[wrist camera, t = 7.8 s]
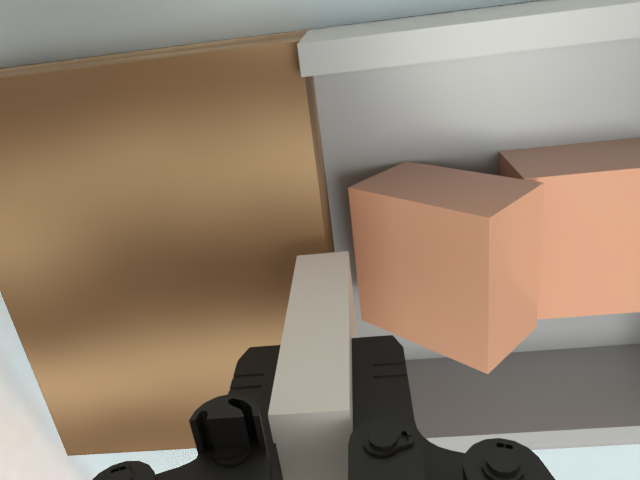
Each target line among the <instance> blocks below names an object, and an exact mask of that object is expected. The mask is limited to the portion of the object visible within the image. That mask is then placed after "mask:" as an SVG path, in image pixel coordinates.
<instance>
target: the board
mask: <svg viewBox="0 0 640 480" xmlns="http://www.w3.org/2000/svg"><path fill="white" fill-rule="evenodd" d="M307 32H308V30H301V31H293V32H285V33H277V34H269V35H261V36H253V37H245V38H237V39H229V40H221V41H214V42H206V43H198V44H190V45H182V46H174V47H166V48H158V49H150V50H142V51H134V52H126V53H118V54H110V55H102V56H94V57H87V58H79V59H71V60H63V61H55V62H47V63H39V64H31V65H23V66H15V67H7V68H0V292H1V294H2V297H3V299H4V302H5V304H6V306H7V309H8V311H9V314H10V316H11V319H12V321H13V323H14V326H15V328H16V331H17V333H18V336H19V338H20V340H21V343H22V345H23V348H24V350H25V353H26V355H27V358H28V360H29V362H30V365H31V367H32V370H33V372H34V375H35V377H36V379H37V382H38V384H39V387H40V389H41V392H42V394H43V397H44V399H45V401H46V404H47V406H48V409H49V411H50V414H51V416H52V418H53V421H54V423H55V426H56V428H57V431H58V433H59V435H60V438H61V440H62V443H63V445H64V448H65V450H66V453H67V455H68V456H70V455H87V454H104V453H121V452H138V451H155V450H172V449H189V448H196V444H195V441H194V437H193V433H192V430H191V426H190V423H189V419H190V418H191V416H192V415H193V413H194V411H195V410H196V409H198V408H199V407H200V406H201V405H202V404H204V403H205V402H207V401H209V400H211V399H213V398H216V397H218V396H223V395H228V392H229V391H230V385H231V382H232V378H234V376H233V375H234V372H235V368H236V365H237V361H238V360H239V359H240V357H241V356H242V355H243V354H244V353H245V352H246V351H247V350H248V348H249V347H259V346H272V345H281V340H282V335H283V329H284V324H285V318H286V313H287V307H288V302H289V296H290V291H291V285H292V280H293V275H294V269H295V264H296V258H297V256H299V255H310V254H321V253H333V252H335V248H334V240H333V232H332V224H331V215H330V207H329V199H328V191H327V183H326V174H325V166H324V158H323V150H322V141H321V133H320V125H319V117H318V109H317V100H316V92H315V84H314V76H307V77H301V71H300V64H299V56H298V48H297V44H298V43H299V41H300V40H301V39H302V38H303V36H304V35H305V34H306V33H307Z"/></svg>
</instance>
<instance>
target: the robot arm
mask: <svg viewBox="0 0 640 480" xmlns="http://www.w3.org/2000/svg"><path fill="white" fill-rule="evenodd" d="M233 376H234V378H232V382H231V385H230V391H229V392H228V395H223V396H218V397H216V398H213V399H211V400H209V401H207V402H205V403H204V404H202V405H201V406H200V407H199V408H198V409H196V410H195V411H194V413H193V415H192V416H191V418H190V419H189V423H190V426H191V430H192V433H193V437H194V441H195V444H196V448H197V451H198V456H197V458H196V459H195V460H193V461H192V462H190V463H188V464H185V465H183V466H180V467H178V468H175V469H171V470H168V471H165V472H162V473H159V474H156V475H155V472H154V471H153V470H152V468H151V467H150V466H149V465H148V464H145V463H143V462H140V461H125V462H122V463H119V464H116V465H112V466H111V467H109V468H107V469H105V470H104V471H102V472H100V473H99V474H98V475H97V476H96V477H95V478H94V479H93V480H555V479H554V477H553V476H552V475H551V473H550V472H549V471H548V469H547V468H546V467H545V465H544V464H543V463H542V461H541V460H540V458H539V457H538V456H537V455H536V454H535V453H533V452H532V451H531V450H530V449H529V448H528V447H526V446H524V445H522V444H520V443H518V442H516V441H513V440H508V439H502V438H493V439H484V440H482V441H480V442H477V443H475V444H473V445H472V446H471V447H470V448H469V449H468V451H467V452H466V453H462V452H457V451H452V450H448V449H445V448H441V447H439V446H437V445H435V444H433V443H431V442H429V441H428V440H427V439H426V438H425V437H423V436H422V434H421V433H420V432H419V430H418V429H417V426H416V423H415V419H414V413H413V406H412V400H411V394H410V387H409V381H408V375H407V368H406V361H405V355H404V349H403V346H402V345H401V344H400V343H399V342H398V341H397V339H396V338H395V337H394V336H393V335H386V336H373V337H360V338H357V324H356V315H355V306H354V297H353V287H352V278H351V269H350V260H349V251H344V252H333V253H321V254H310V255H299V256H297V258H296V264H295V269H294V275H293V280H292V285H291V291H290V296H289V302H288V307H287V313H286V318H285V324H284V329H283V335H282V340H281V345H272V346H259V347H249V348H248V350H247V351H246V352H245V353H244V354H243V355H242V356H241V357H240V359H239V360H238V361H237V365H236V368H235V372H234V375H233Z"/></svg>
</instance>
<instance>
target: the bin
mask: <svg viewBox="0 0 640 480" xmlns="http://www.w3.org/2000/svg"><path fill="white" fill-rule="evenodd" d="M297 48H298V56H299V64H300V71H301V77H307V76H314V84H315V92H316V100H317V109H318V117H319V125H320V133H321V141H322V150H323V158H324V166H325V174H326V183H327V191H328V199H329V207H330V215H331V224H332V232H333V240H334V248H335V252H344V251H349V260H350V269H351V278H352V287H353V297H354V306H355V315H356V324H357V338H360V337H373V336H386V335H393V336H394V337H395V338H396V339H397V341H398V342H399V343H400V344H401V345H402V346H403V349H404V355H405V361H406V368H407V375H408V381H409V387H410V394H411V400H412V406H413V413H414V419H415V423H416V426H417V429H418V430H419V432H420V433H421V434H422V436H423V437H425V438H426V439H427V440H428V441H429V442H431V443H433V444H435V445H437V446H439V447H441V448H445V449H448V450H452V451H457V452H462V453H466V452H467V451H468V449H469V448H470V447H471V446H472V445H473V444H475V443H477V442H480V441H482V440H484V439H493V438H502V439H508V440H513V441H516V442H518V443H520V444H522V445H524V446H526V447H528V448H529V449H530V450H537V449H555V448H573V447H591V446H609V445H627V444H640V312H634V313H621V314H607V315H593V316H579V317H565V318H551V319H537V328H536V329H535V330H533V331H532V332H531V333H530V334H529V335H528V336H527V337H526V338H525V339H524V340H523V341H522V342H521V343H520V344H519V345H518V346H517V347H516V348H515V349H514V350H513V351H512V352H511V353H510V354H509V355H507V356H506V357H505V358H504V359H503V360H502V361H501V362H500V363H499V364H498V365H497V366H496V367H495V368H494V369H493V370H492V371H491V372H490V373H489V374H486V373H484V372H481V371H479V370H477V369H474V368H472V367H470V366H467V365H465V364H463V363H460V362H458V361H456V360H453V359H451V358H449V357H446V356H444V355H442V354H439V353H437V352H435V351H432V350H430V349H428V348H426V347H423V346H421V345H419V344H416V343H414V342H412V341H409V340H407V339H405V338H402V337H400V336H398V335H395V334H393V333H391V332H388V331H386V330H384V329H381V328H379V327H377V326H374V325H372V324H370V323H367V322H365V321H363V320H361V310H360V301H359V291H358V281H357V271H356V261H355V251H354V242H353V232H352V222H351V212H350V202H349V192H348V187H350V186H352V185H355V184H357V183H359V182H361V181H363V180H366V179H368V178H370V177H372V176H374V175H377V174H379V173H381V172H383V171H386V170H388V169H390V168H392V167H394V166H397V165H399V164H401V163H403V162H405V161H408V162H415V163H421V164H427V165H434V166H440V167H447V168H453V169H459V170H466V171H472V172H478V173H485V174H491V175H498V176H499V151H506V150H517V149H527V148H537V147H547V146H557V145H567V144H578V143H588V142H598V141H608V140H618V139H628V138H639V137H640V0H539V1H531V2H523V3H515V4H507V5H499V6H491V7H483V8H476V9H468V10H460V11H452V12H444V13H436V14H428V15H420V16H412V17H404V18H396V19H388V20H380V21H372V22H364V23H356V24H348V25H341V26H333V27H325V28H317V29H309V30H308V32H307V33H306V34H305V35H304V36H303V38H302V39H301V40H300V41H299V43H298V44H297Z"/></svg>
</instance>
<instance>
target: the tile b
mask: <svg viewBox="0 0 640 480" xmlns="http://www.w3.org/2000/svg"><path fill="white" fill-rule="evenodd" d="M499 176H504V177H510V178H517V179H523V180H530V181H536V182H542V183H544V192H543V211H542V231H541V250H540V270H539V289H538V309H537V319H551V318H565V317H579V316H593V315H607V314H621V313H634V312H640V137H639V138H628V139H618V140H608V141H598V142H588V143H578V144H567V145H557V146H547V147H537V148H527V149H517V150H506V151H499Z"/></svg>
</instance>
